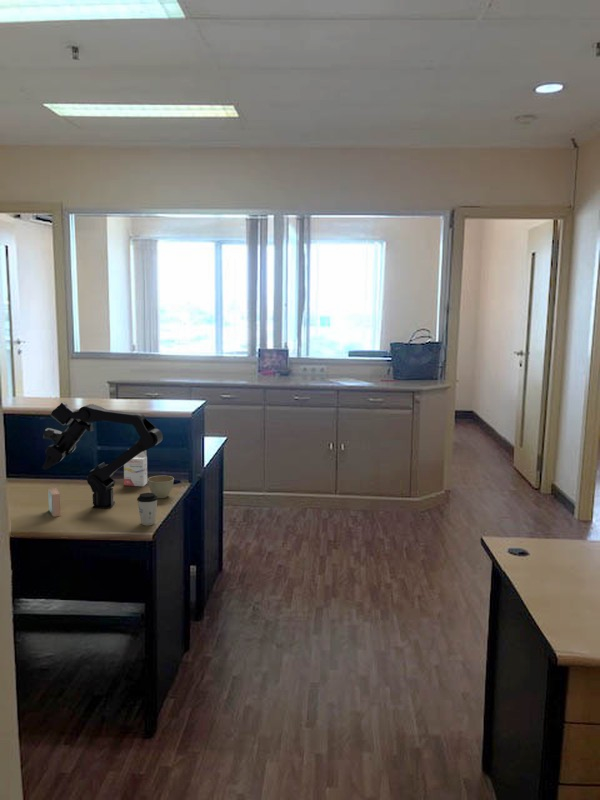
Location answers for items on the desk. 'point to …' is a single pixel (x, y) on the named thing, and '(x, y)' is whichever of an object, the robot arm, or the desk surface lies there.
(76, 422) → the robot arm
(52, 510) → the tile
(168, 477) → the beige bowl
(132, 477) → the ink cartridge box
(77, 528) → the desk surface
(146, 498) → the coffee cup
